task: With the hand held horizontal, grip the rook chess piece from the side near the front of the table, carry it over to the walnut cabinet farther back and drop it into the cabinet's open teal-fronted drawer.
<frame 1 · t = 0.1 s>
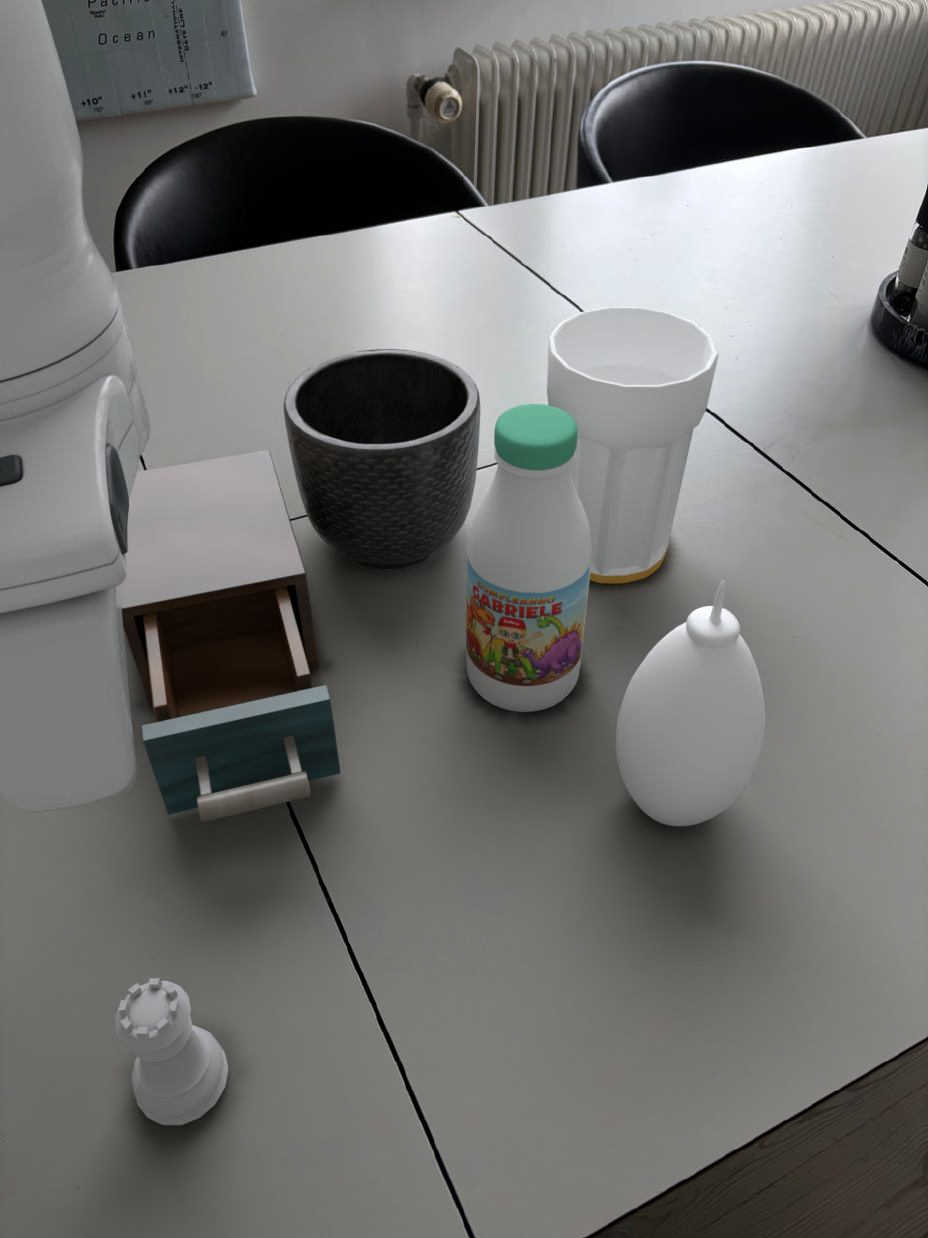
hand: (105, 694, 42), 19 cm above the table, tool pointing down, fingers open, 8 cm apart
cabinet: (221, 615, 73), on the table
milk bottle: (522, 675, 69), on the table
rook chess piece: (184, 1083, 49), on the table
drawer: (236, 701, 61), point 4 cm above the table, slide at 9.0 cm
sauce bottle: (671, 806, 61), on the table
planter: (391, 540, 80), on the table
cup: (607, 548, 79), on the table
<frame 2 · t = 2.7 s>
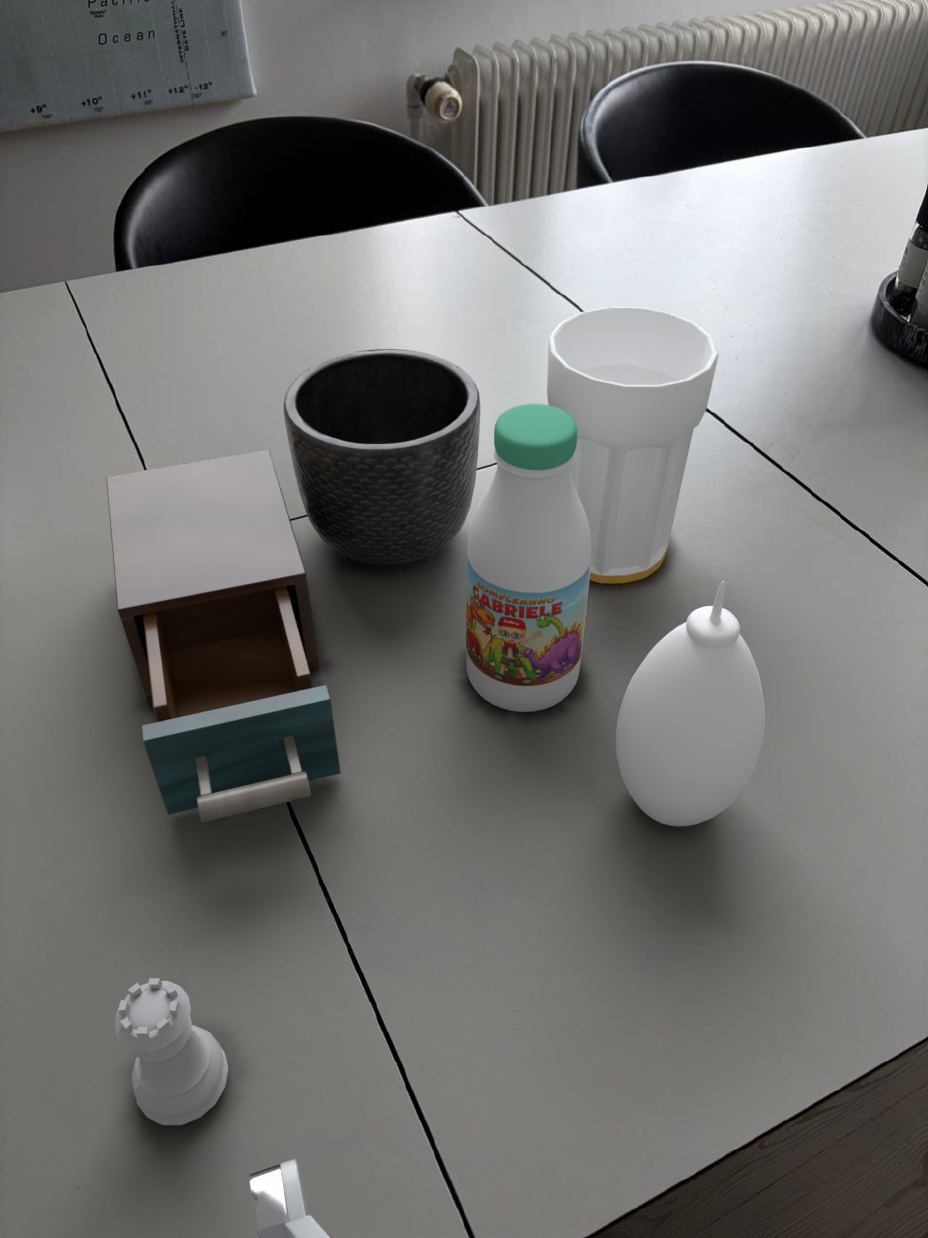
hand: (119, 1222, 30), 16 cm above the table, tool horizontal, fingers open, 8 cm apart
nothing on the table moved.
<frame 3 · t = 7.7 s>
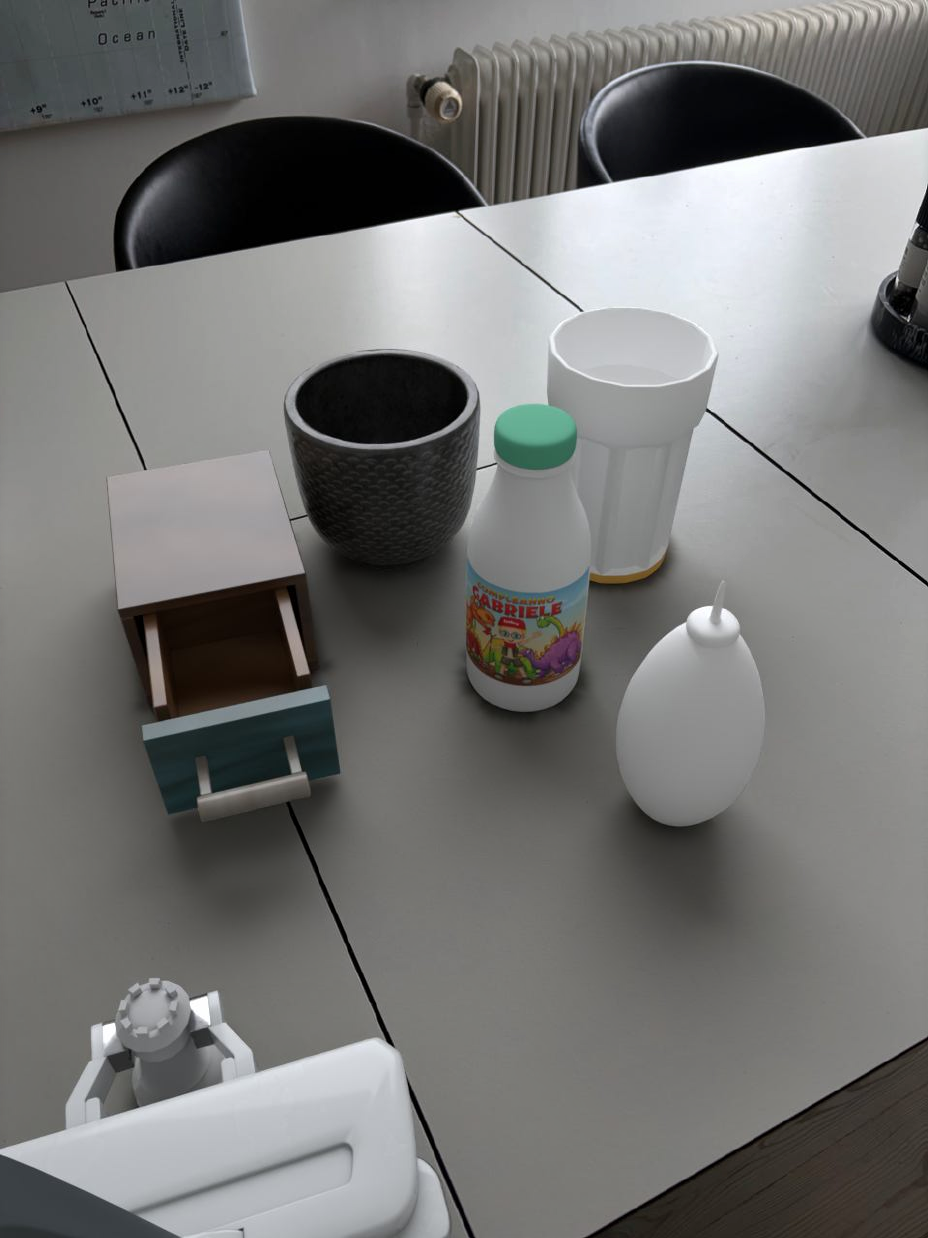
hand: (157, 1013, 46), 6 cm above the table, tool horizontal, fingers closed on rook chess piece, 3 cm apart
rook chess piece: (184, 1083, 49), on the table, touching gripper
everything else where it was.
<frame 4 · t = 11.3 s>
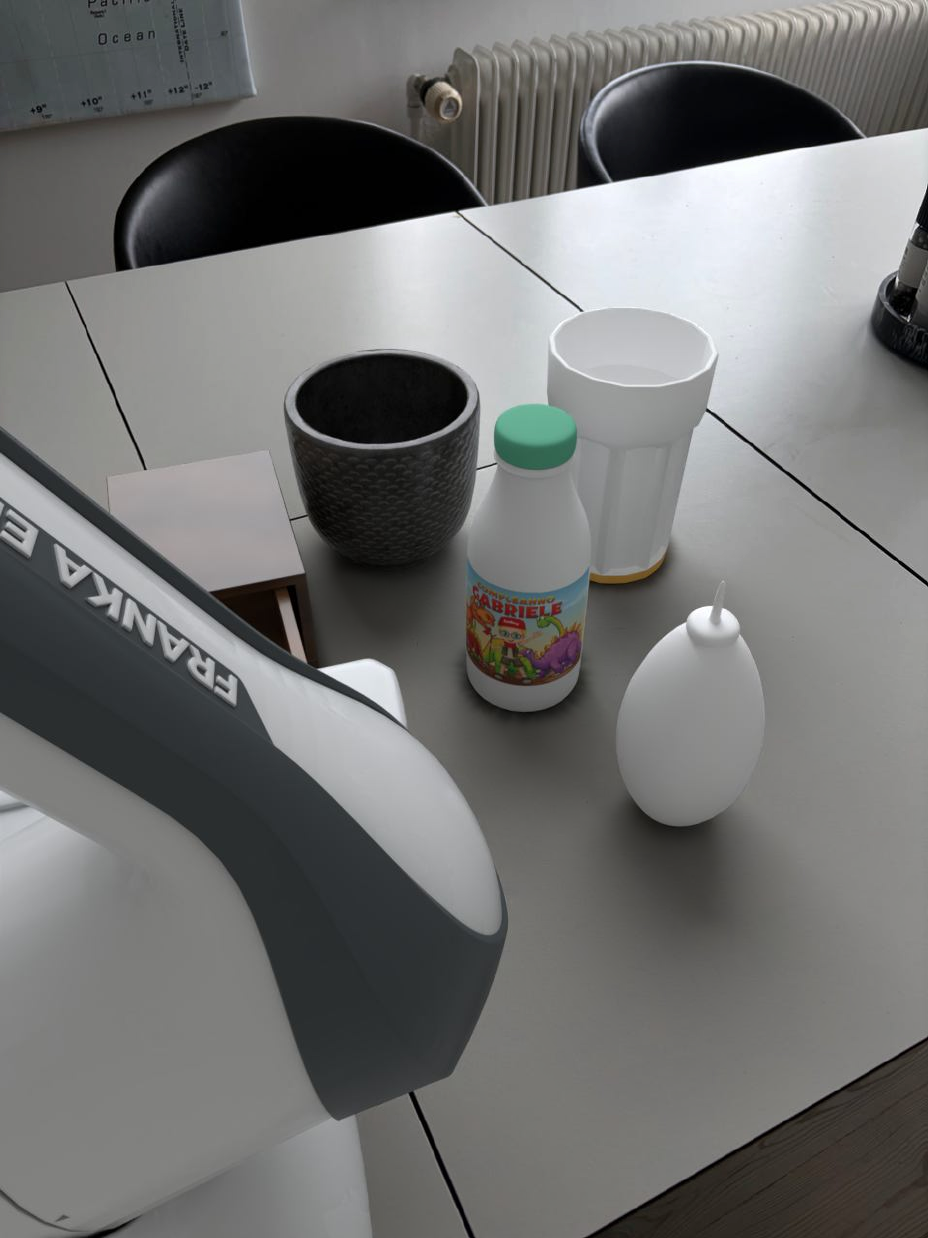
hand: (157, 653, 47), 17 cm above the table, tool horizontal, fingers closed on rook chess piece, 3 cm apart
rook chess piece: (183, 746, 50), point 11 cm above the table, touching gripper
everything else where it was.
when the fingers open (9 cm above the table, at t = 15.3 s): rook chess piece moves 1 cm, resting on drawer.
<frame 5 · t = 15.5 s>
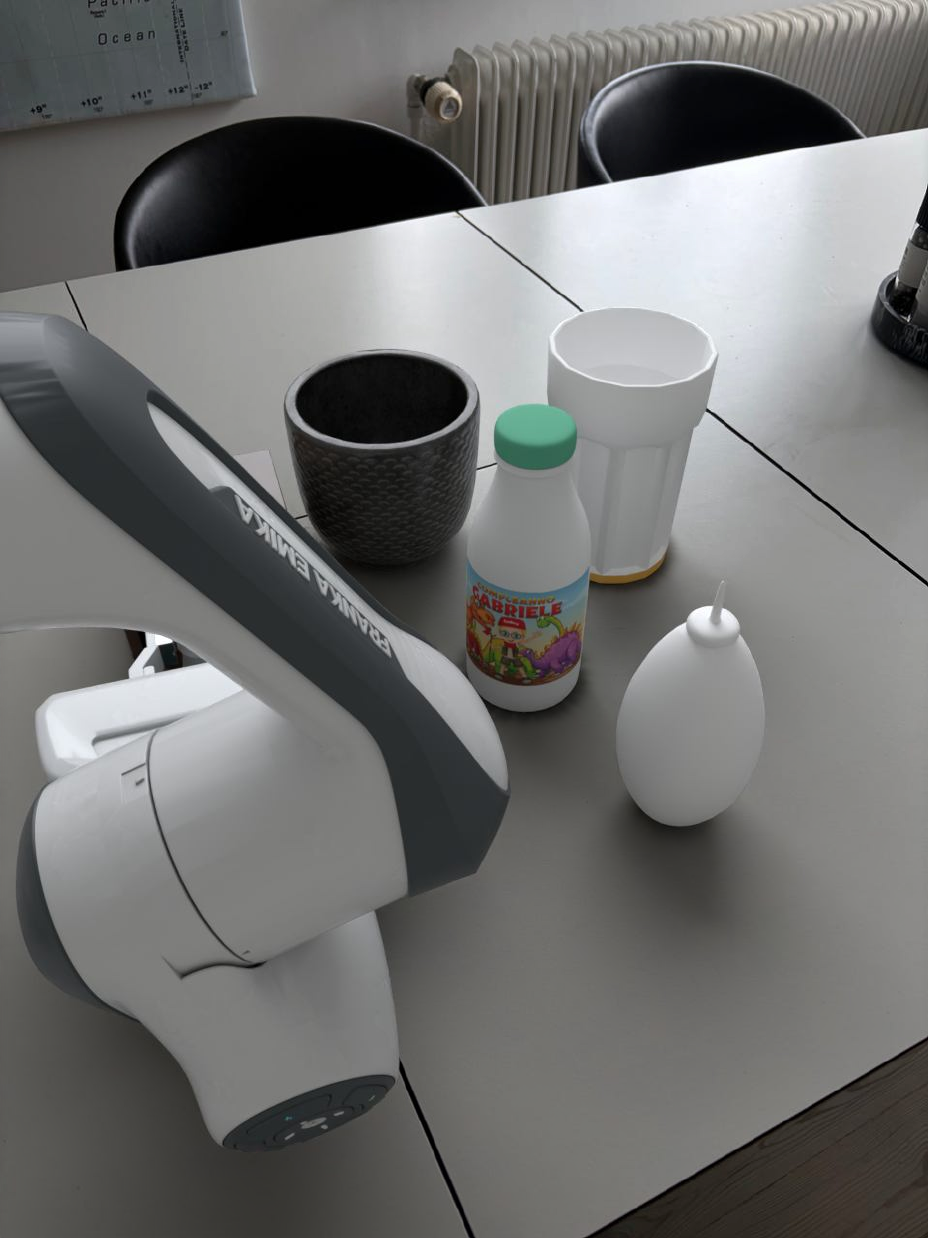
hand: (219, 623, 60), 9 cm above the table, tool horizontal, fingers open, 5 cm apart
rook chess piece: (213, 707, 63), point 3 cm above the table, touching drawer, gripper
drawer: (236, 701, 61), point 4 cm above the table, slide at 9.0 cm, touching rook chess piece
everything else where it was.
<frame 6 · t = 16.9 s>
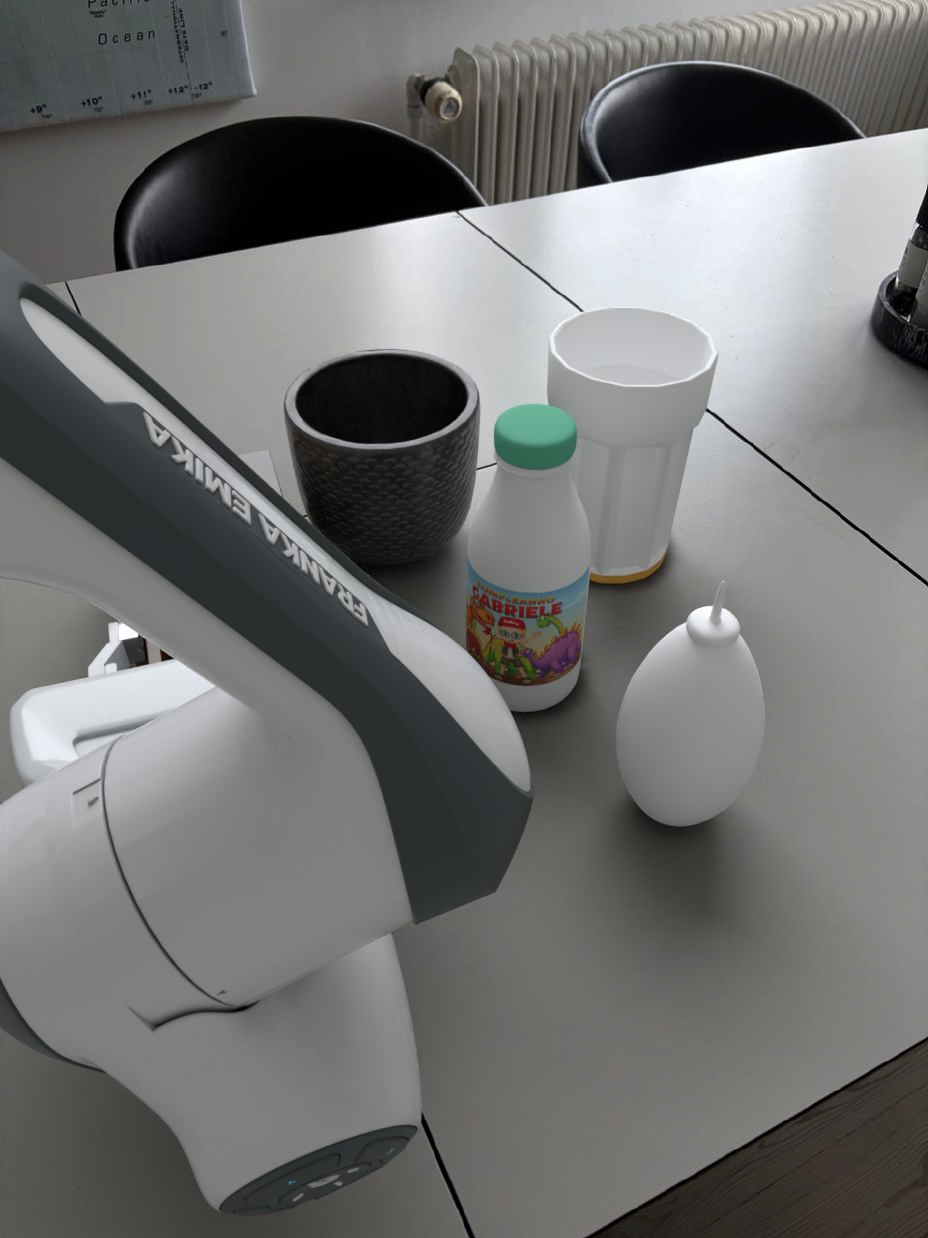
hand: (214, 610, 54), 13 cm above the table, tool horizontal, fingers open, 8 cm apart
rook chess piece: (225, 740, 62), point 2 cm above the table, touching drawer
drawer: (238, 710, 61), point 4 cm above the table, slide at 9.8 cm, touching rook chess piece
everything else where it was.
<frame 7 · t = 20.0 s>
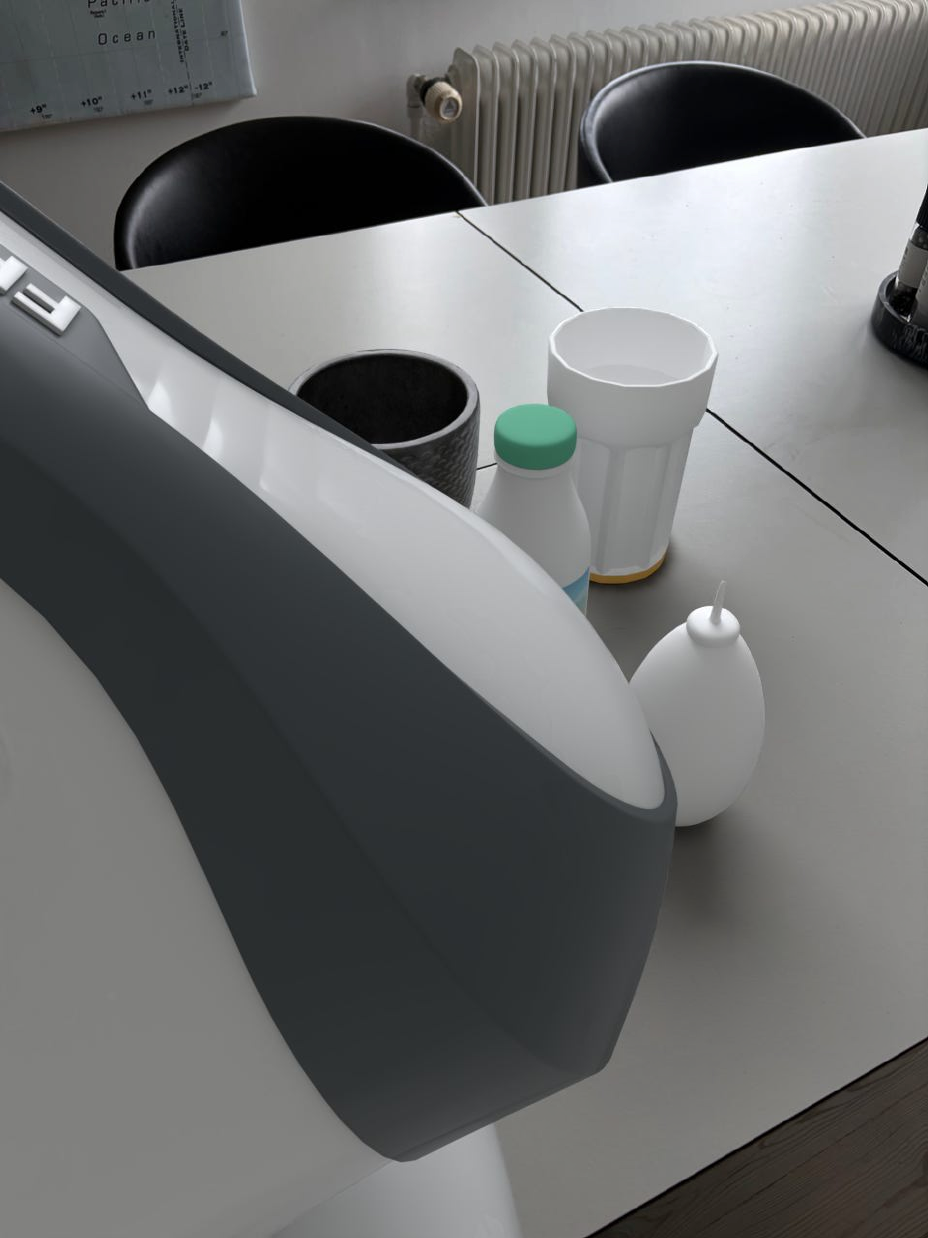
hand: (191, 549, 38), 26 cm above the table, tool horizontal, fingers open, 8 cm apart
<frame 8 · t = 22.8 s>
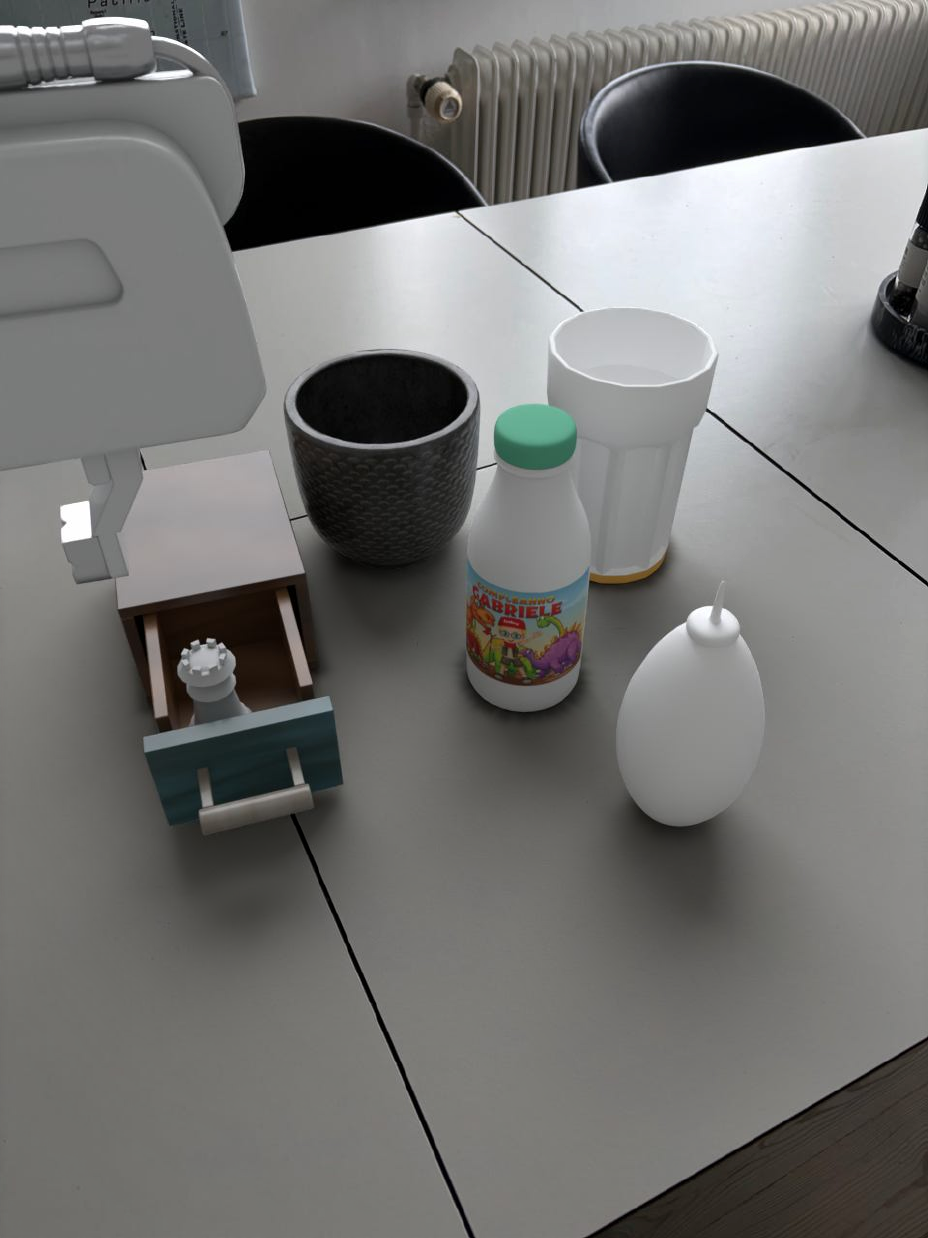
at the end: rook chess piece inside the target area in the cabinet (9.8 cm from its centre), point 1.8 cm above the cabinet's base; the gripper is holding nothing; rook chess piece moved 19.5 cm from its start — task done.
